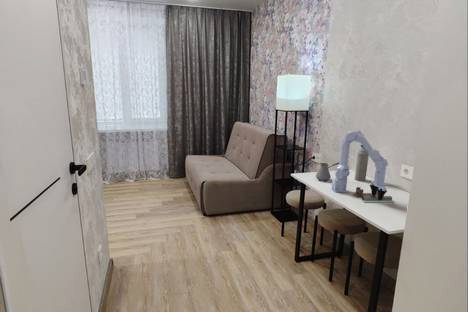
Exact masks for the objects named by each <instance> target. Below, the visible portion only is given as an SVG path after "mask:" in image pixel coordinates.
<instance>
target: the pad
mask: <svg viewBox="0 0 468 312" xmlns="http://www.w3.org/2000/svg"><path fill="white" fill-rule="evenodd" d="M361 198H362V197H358V199H359V200H360V201H362V202H363V203H365V204H366V203H378V204H379V203H395V200H393V199H392V200H362V199H361Z"/></svg>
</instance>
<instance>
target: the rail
mask: <svg viewBox="0 0 468 312" xmlns="http://www.w3.org/2000/svg"><path fill="white" fill-rule="evenodd" d="M360 198H361V199H362V200H378V196H362V197H360ZM382 200H393V197H392V196H391V195H384V196H383V198H382Z"/></svg>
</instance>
